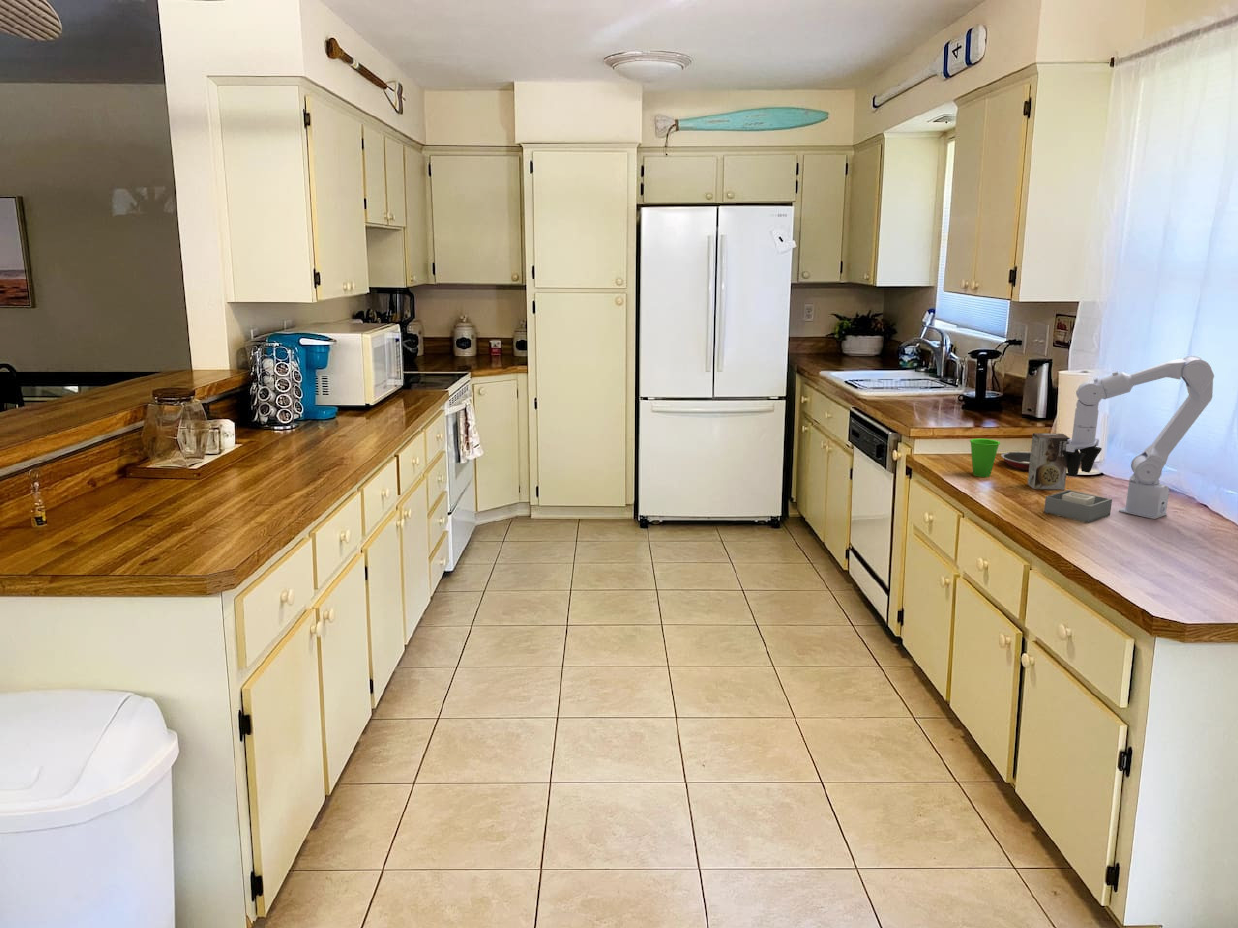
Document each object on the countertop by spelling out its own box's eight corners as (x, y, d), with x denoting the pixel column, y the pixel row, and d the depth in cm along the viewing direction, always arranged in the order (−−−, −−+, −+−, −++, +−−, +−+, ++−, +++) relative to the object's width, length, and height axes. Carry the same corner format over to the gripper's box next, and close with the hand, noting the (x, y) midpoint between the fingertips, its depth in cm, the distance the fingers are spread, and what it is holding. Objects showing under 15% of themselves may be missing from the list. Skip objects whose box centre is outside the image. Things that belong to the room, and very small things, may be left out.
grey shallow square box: (1110, 515, 254) (1112, 499, 253) (1088, 522, 246) (1090, 506, 245) (1066, 505, 263) (1067, 489, 262) (1043, 512, 256) (1045, 496, 255)
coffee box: (1057, 484, 285) (1063, 433, 281) (1065, 490, 279) (1071, 437, 275) (1026, 483, 286) (1032, 432, 282) (1033, 489, 280) (1039, 436, 276)
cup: (960, 473, 299) (963, 439, 296) (981, 470, 302) (984, 437, 300) (981, 479, 291) (985, 445, 288) (1003, 476, 294) (1006, 442, 292)
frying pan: (1048, 460, 317) (1050, 450, 316) (1089, 484, 286) (1090, 472, 285) (992, 459, 318) (993, 449, 318) (1026, 483, 287) (1027, 471, 286)
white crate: (1093, 512, 254) (1095, 496, 253) (1084, 515, 251) (1086, 499, 249) (1069, 507, 258) (1071, 491, 257) (1060, 510, 255) (1062, 494, 254)
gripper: (1083, 420, 264) (1077, 467, 267) (1057, 426, 255) (1051, 474, 258) (1108, 424, 259) (1102, 472, 262) (1083, 430, 250) (1077, 479, 253)
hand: (1079, 473), depth 260 cm, fingers open, 7 cm apart
